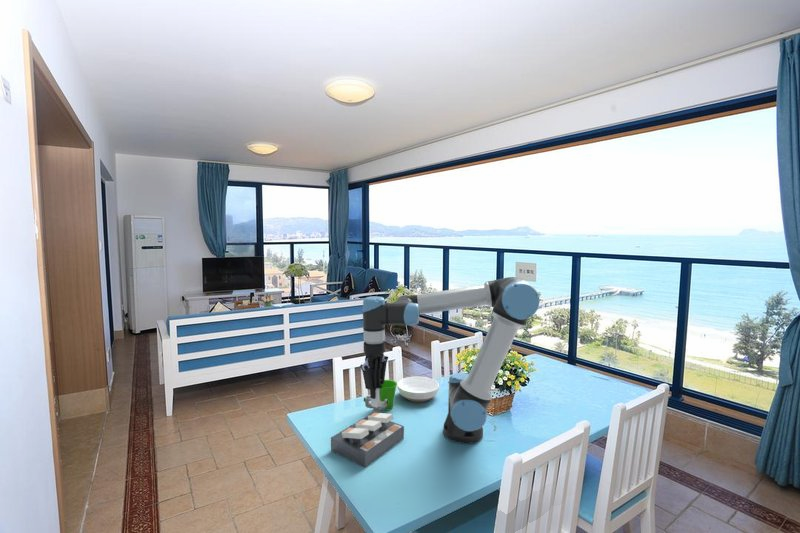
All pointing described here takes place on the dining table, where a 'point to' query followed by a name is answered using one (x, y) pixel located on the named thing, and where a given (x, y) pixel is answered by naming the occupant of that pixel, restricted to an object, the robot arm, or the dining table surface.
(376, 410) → the mechanical component
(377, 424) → the rocker
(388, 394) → the cup
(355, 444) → the console
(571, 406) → the dining table surface
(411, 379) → the bowl
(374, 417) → the block
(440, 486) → the dining table surface
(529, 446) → the dining table surface
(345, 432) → the block
